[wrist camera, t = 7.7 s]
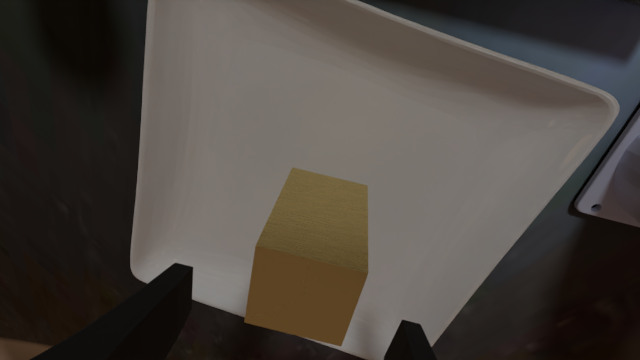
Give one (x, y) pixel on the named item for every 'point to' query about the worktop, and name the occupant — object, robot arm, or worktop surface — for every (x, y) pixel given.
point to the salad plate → (347, 148)
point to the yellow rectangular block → (311, 258)
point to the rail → (632, 1)
